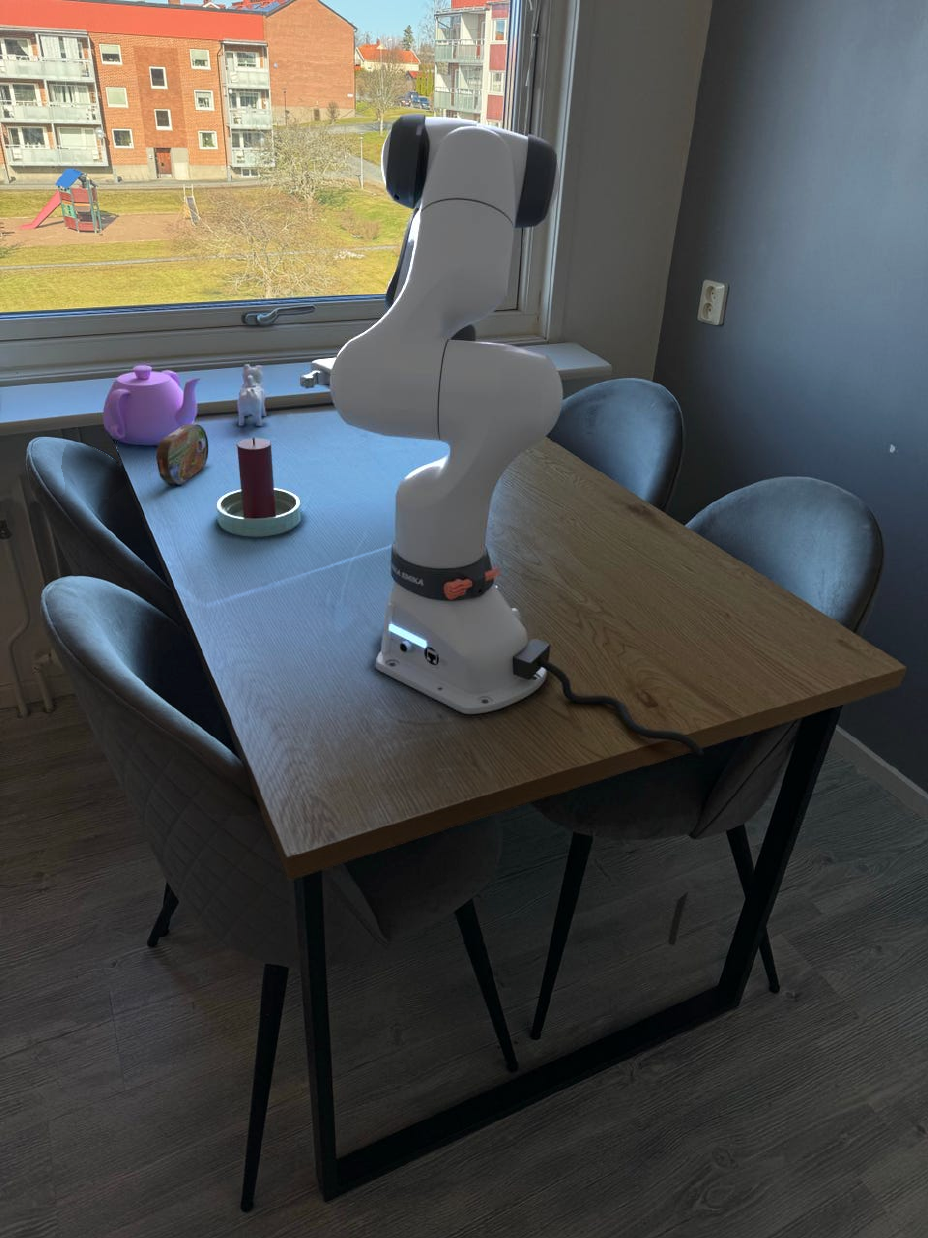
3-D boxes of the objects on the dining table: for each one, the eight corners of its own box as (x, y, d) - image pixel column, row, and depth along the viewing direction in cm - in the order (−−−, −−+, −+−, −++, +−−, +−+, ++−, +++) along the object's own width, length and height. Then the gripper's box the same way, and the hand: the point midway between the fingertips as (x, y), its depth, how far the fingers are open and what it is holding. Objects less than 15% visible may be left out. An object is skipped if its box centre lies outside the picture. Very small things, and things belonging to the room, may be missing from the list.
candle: (282, 520, 144) (276, 439, 137) (253, 528, 141) (246, 445, 134) (265, 510, 148) (259, 430, 140) (237, 517, 145) (230, 436, 137)
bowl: (316, 525, 144) (315, 507, 143) (243, 545, 137) (242, 526, 135) (274, 498, 153) (273, 481, 151) (204, 516, 145) (202, 498, 143)
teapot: (175, 464, 164) (166, 391, 157) (78, 446, 170) (65, 374, 163) (238, 429, 182) (232, 362, 175) (148, 414, 188) (139, 348, 181)
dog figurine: (268, 409, 195) (265, 360, 189) (263, 427, 184) (260, 376, 179) (243, 408, 194) (240, 360, 189) (237, 427, 183) (233, 376, 178)
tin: (173, 491, 153) (167, 445, 149) (157, 489, 154) (150, 443, 149) (211, 462, 166) (207, 418, 162) (196, 460, 166) (191, 416, 162)
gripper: (351, 345, 154) (283, 355, 146) (424, 372, 141) (353, 385, 133) (352, 380, 158) (285, 392, 150) (423, 410, 145) (354, 425, 137)
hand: (317, 389), depth 141 cm, fingers open, 8 cm apart
